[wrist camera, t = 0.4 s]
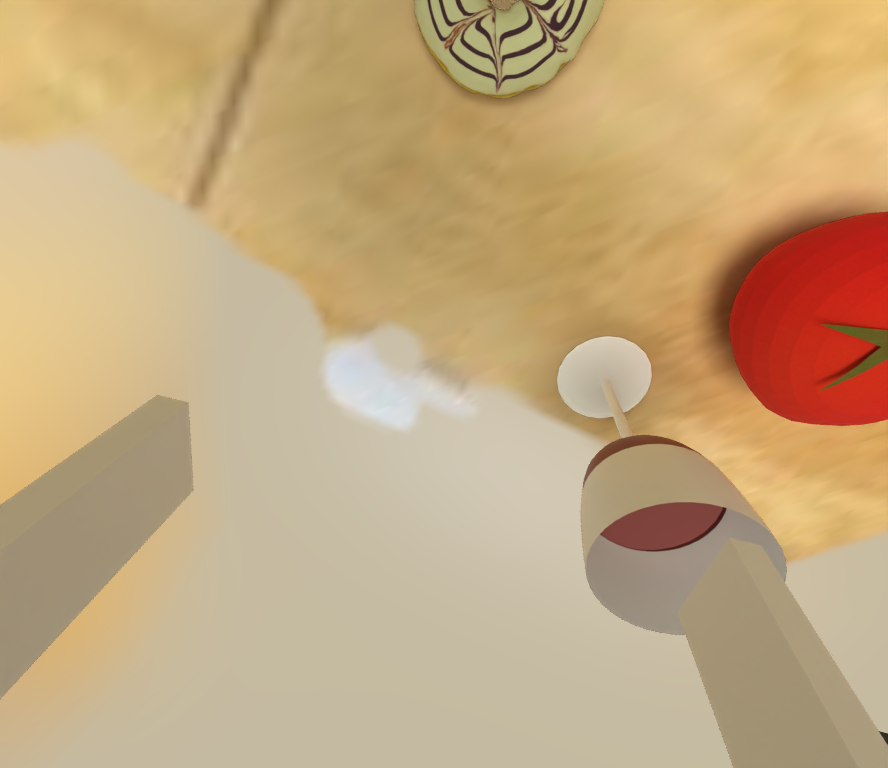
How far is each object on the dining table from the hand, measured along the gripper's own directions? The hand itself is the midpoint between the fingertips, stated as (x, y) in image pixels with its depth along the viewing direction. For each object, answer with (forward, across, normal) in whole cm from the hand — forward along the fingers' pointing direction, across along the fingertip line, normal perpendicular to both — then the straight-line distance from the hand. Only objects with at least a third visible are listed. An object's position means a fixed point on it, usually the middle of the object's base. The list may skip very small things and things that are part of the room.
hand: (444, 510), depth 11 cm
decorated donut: (+28, -3, +16) cm, 32 cm away
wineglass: (+28, +12, -7) cm, 31 cm away
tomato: (+28, +22, +3) cm, 36 cm away
